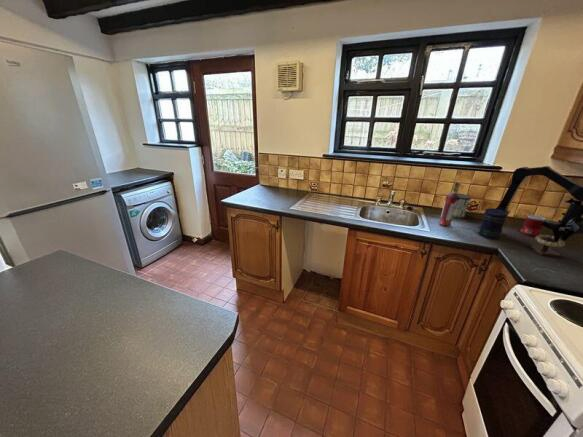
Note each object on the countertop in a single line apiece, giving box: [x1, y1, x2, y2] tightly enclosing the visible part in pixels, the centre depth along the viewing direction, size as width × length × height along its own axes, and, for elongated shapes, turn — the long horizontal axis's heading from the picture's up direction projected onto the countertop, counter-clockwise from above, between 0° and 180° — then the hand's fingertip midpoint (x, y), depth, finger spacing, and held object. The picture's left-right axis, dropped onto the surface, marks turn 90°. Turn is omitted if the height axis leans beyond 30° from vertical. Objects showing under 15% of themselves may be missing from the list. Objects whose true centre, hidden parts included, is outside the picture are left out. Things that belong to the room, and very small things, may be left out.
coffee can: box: [453, 192, 472, 218], centre depth 167 cm, size 10×10×14 cm
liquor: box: [438, 181, 461, 227], centre depth 148 cm, size 7×7×28 cm
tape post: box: [527, 237, 562, 258], centre depth 125 cm, size 9×9×8 cm
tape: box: [534, 234, 566, 249], centre depth 124 cm, size 11×11×2 cm
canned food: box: [520, 214, 547, 237], centre depth 144 cm, size 8×8×11 cm
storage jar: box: [478, 207, 507, 240], centre depth 138 cm, size 10×10×15 cm
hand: (558, 241), depth 124 cm, fingers closed on tape, 2 cm apart
